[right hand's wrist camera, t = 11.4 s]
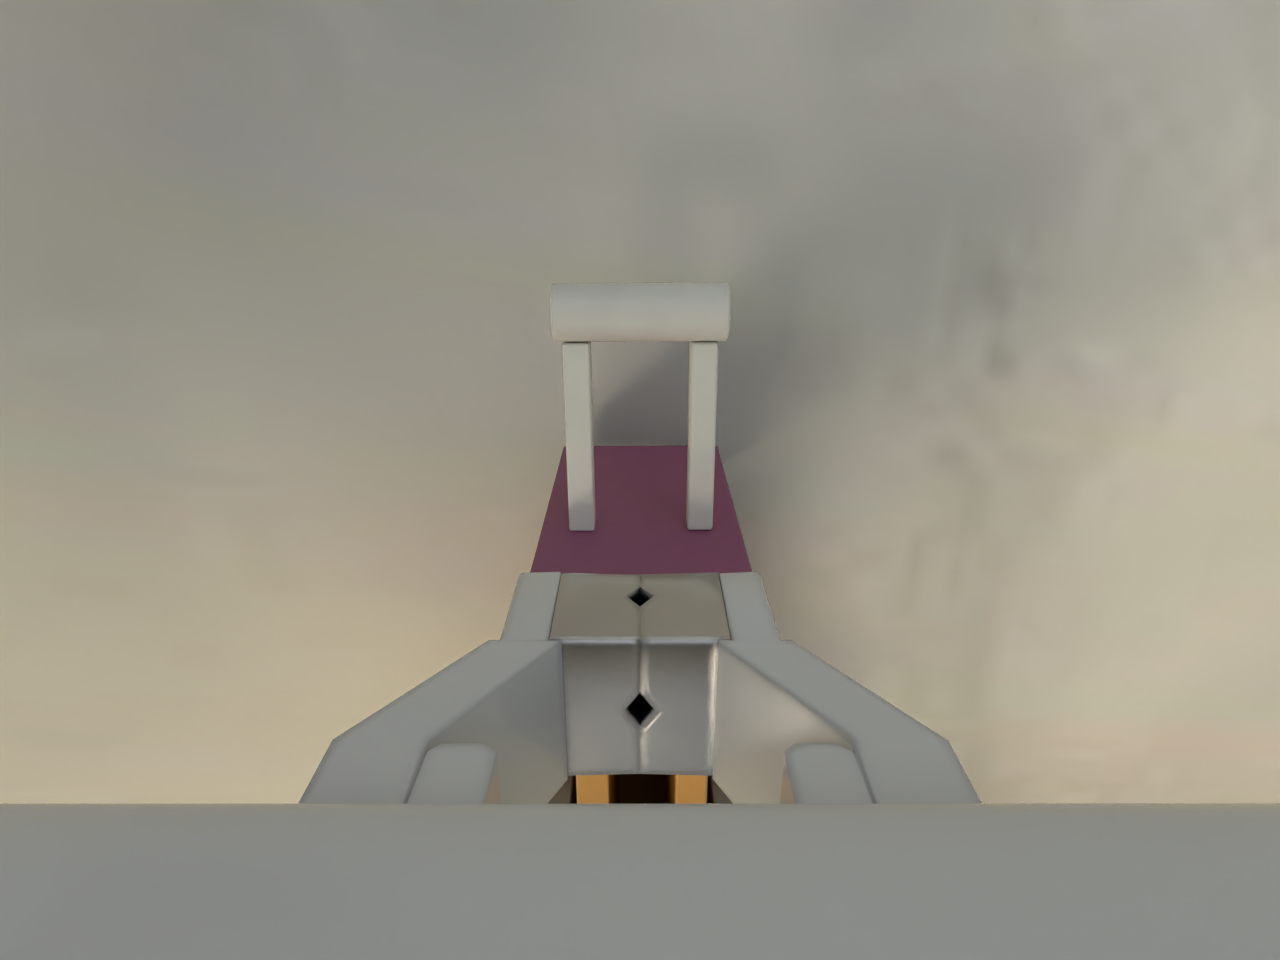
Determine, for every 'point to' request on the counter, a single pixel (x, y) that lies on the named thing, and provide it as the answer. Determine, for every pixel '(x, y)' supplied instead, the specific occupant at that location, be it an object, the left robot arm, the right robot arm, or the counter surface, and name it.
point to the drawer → (640, 473)
